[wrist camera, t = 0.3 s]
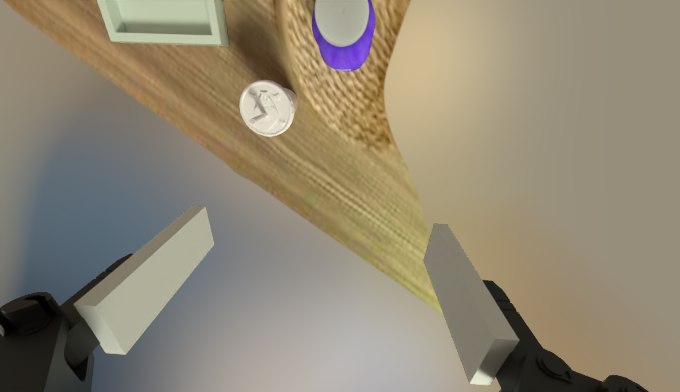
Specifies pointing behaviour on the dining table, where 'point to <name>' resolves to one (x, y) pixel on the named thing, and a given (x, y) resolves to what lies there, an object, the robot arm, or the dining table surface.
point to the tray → (166, 22)
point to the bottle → (343, 32)
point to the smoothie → (268, 107)
